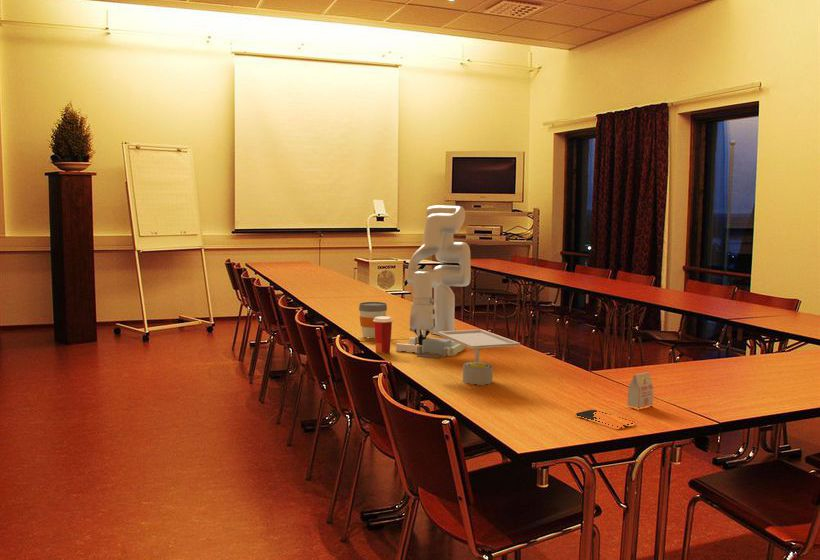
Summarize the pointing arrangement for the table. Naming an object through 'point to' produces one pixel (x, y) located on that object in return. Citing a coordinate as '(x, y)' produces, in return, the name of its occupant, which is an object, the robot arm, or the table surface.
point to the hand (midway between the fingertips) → (422, 346)
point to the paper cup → (382, 333)
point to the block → (435, 345)
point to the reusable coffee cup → (370, 316)
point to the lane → (419, 350)
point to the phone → (590, 415)
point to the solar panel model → (477, 352)
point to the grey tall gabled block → (640, 391)
